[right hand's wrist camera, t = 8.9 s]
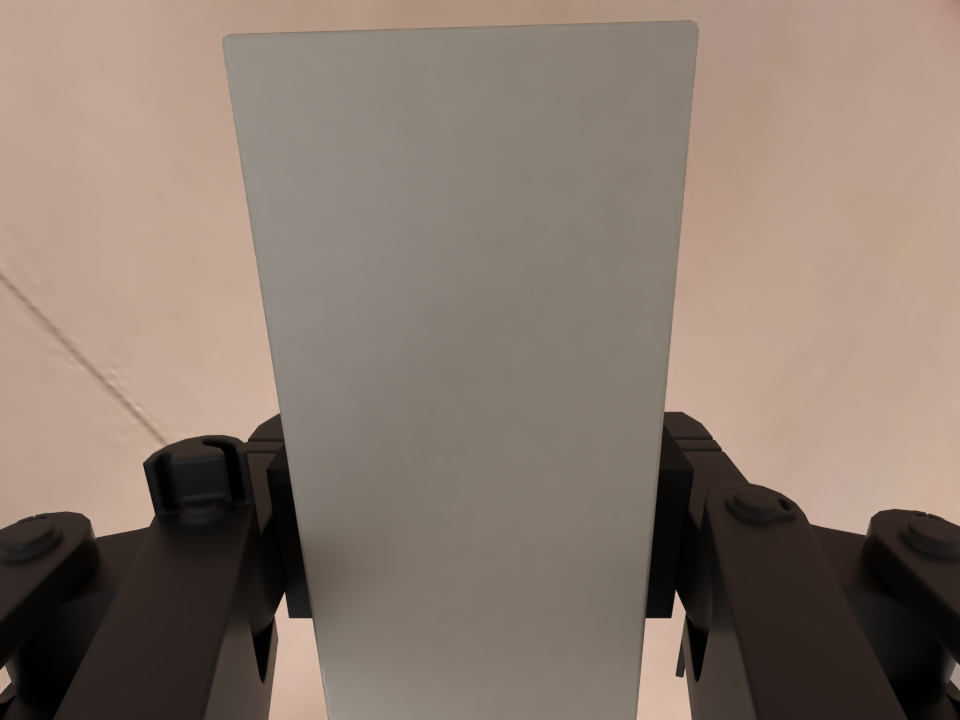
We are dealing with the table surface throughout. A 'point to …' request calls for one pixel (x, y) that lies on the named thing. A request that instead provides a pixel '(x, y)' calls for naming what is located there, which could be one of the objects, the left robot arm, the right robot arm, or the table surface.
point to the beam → (470, 348)
